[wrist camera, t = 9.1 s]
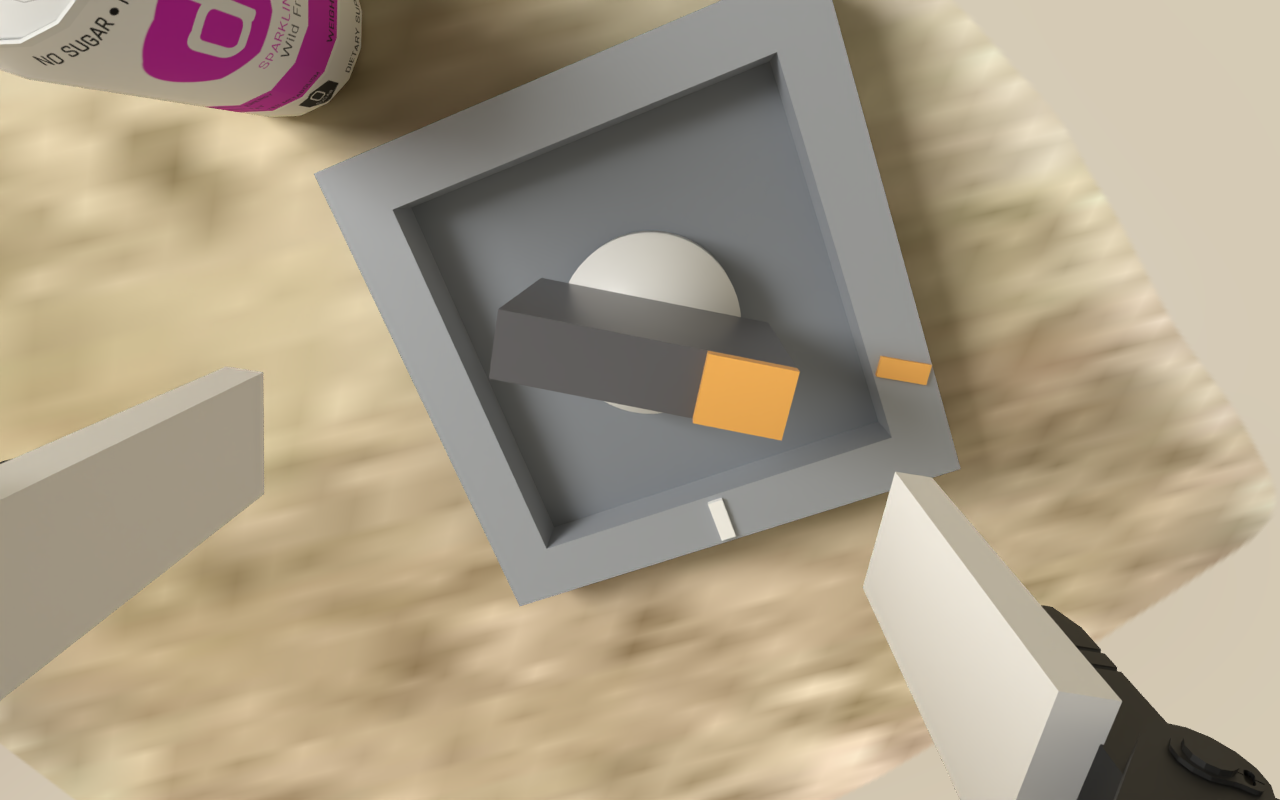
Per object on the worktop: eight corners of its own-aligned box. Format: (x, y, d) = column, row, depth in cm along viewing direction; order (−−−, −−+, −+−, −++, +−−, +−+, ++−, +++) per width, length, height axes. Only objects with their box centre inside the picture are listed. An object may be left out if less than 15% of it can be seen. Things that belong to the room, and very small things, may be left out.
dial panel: (349, 174, 34) (311, 173, 30) (805, -18, 31) (821, -44, 27) (533, 570, 40) (518, 608, 36) (934, 442, 36) (962, 470, 33)
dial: (532, 379, 35) (474, 460, 25) (558, 210, 32) (506, 223, 22) (737, 419, 35) (761, 515, 25) (777, 253, 33) (822, 286, 23)
